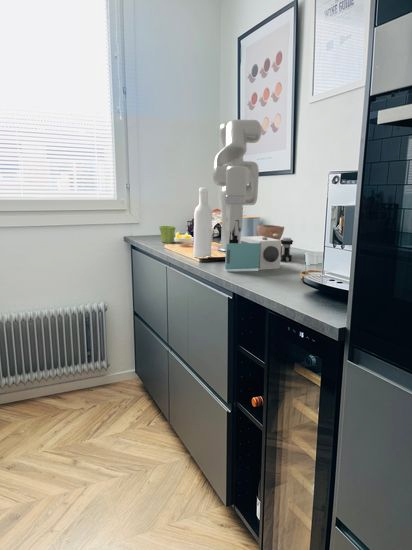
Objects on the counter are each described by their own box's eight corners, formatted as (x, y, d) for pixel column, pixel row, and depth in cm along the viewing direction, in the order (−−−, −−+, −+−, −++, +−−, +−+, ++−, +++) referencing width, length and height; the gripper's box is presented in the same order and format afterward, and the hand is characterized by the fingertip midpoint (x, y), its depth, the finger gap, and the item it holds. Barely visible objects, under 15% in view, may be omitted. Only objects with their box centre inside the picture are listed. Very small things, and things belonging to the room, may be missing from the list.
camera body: (239, 263, 169) (240, 234, 167) (260, 262, 173) (261, 234, 171) (260, 270, 155) (261, 239, 153) (282, 269, 160) (283, 238, 157)
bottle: (196, 258, 177) (198, 187, 171) (190, 255, 184) (191, 187, 178) (214, 258, 180) (215, 188, 174) (207, 255, 187) (208, 187, 181)
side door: (226, 269, 152) (227, 243, 150) (225, 269, 153) (226, 243, 151) (260, 268, 155) (261, 243, 153) (259, 268, 157) (260, 243, 154)
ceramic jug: (290, 260, 179) (293, 227, 176) (258, 260, 177) (260, 226, 174) (277, 254, 197) (279, 224, 194) (247, 254, 194) (249, 223, 191)
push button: (281, 262, 173) (282, 239, 170) (274, 260, 177) (275, 237, 175) (294, 262, 175) (295, 238, 173) (287, 259, 180) (288, 237, 178)
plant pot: (156, 241, 228) (156, 225, 226) (172, 240, 232) (172, 225, 230) (162, 243, 219) (162, 227, 218) (178, 243, 223) (178, 227, 221)
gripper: (221, 199, 157) (220, 246, 162) (228, 201, 143) (226, 253, 147) (241, 199, 158) (239, 246, 162) (249, 202, 144) (247, 253, 148)
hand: (233, 249), depth 155 cm, fingers closed
